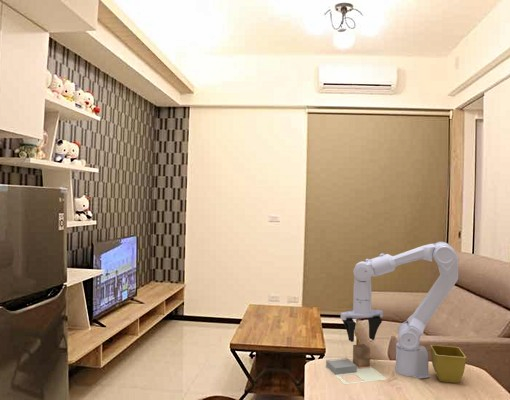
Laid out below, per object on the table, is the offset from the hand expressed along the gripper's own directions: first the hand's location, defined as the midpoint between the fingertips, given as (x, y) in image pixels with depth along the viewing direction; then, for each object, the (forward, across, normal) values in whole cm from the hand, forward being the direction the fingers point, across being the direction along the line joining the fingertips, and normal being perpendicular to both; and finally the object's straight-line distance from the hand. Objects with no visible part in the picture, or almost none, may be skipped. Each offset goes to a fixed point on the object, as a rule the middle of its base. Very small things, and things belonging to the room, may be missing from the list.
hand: (361, 339), depth 140 cm
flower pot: (+10, -22, +14) cm, 28 cm away
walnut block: (+8, 0, 0) cm, 8 cm away
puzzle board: (+9, +5, +5) cm, 12 cm away
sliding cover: (+8, +8, +2) cm, 12 cm away
